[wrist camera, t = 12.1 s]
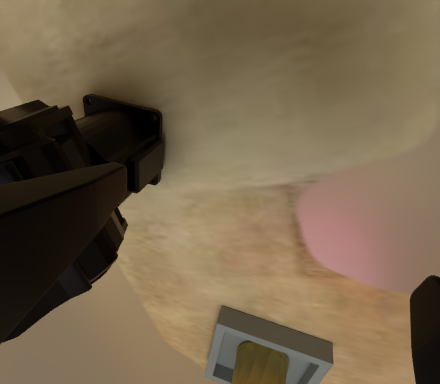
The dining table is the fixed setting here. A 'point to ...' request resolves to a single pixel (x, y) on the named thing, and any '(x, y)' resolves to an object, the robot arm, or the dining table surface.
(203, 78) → the dining table surface
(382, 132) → the dining table surface
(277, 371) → the vase
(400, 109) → the dining table surface
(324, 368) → the tray
